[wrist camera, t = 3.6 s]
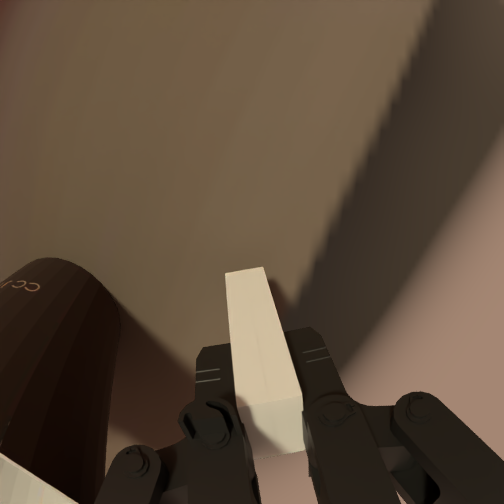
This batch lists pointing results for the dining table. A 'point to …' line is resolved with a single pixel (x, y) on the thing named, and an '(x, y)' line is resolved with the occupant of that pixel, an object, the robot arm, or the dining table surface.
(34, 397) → the dark brown mug
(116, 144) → the dining table surface
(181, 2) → the dining table surface
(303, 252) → the dining table surface
